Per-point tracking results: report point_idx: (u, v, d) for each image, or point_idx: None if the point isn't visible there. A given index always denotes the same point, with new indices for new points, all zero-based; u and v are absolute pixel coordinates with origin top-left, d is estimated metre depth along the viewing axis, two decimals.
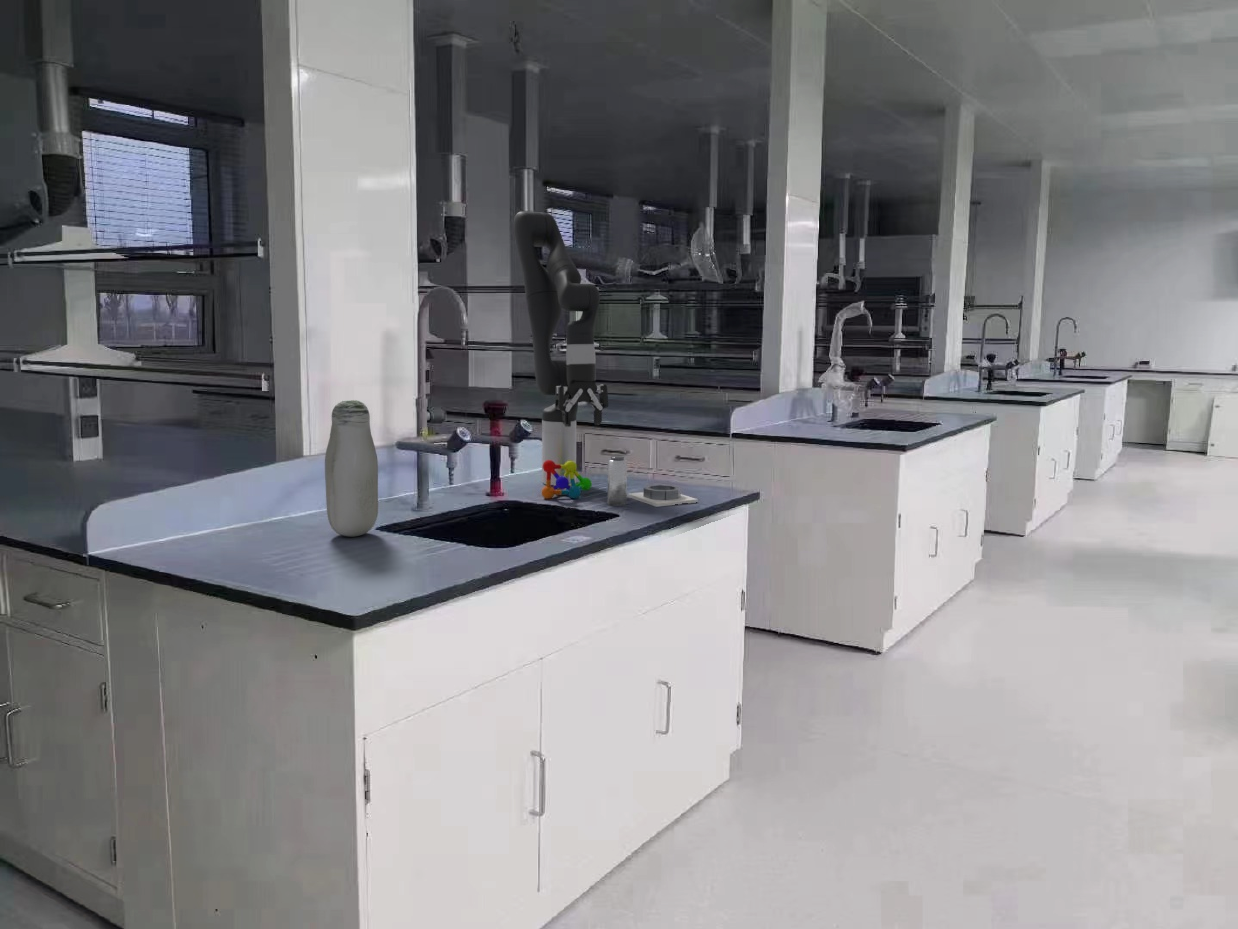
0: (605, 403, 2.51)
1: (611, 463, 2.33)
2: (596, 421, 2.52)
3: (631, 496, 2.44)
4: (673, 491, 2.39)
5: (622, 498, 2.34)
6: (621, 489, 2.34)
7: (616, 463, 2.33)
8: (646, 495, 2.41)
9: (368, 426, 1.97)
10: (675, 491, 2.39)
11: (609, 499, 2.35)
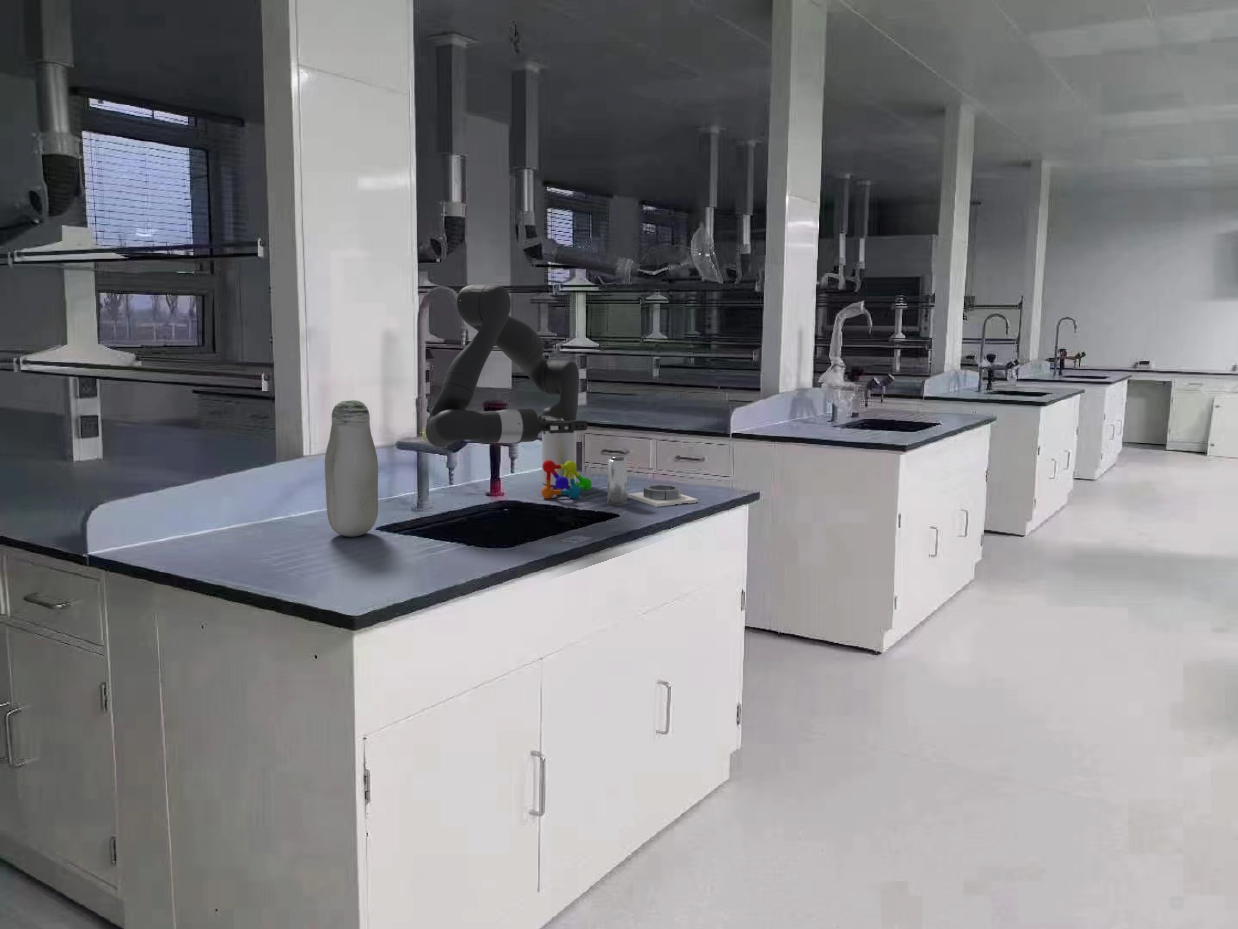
0: None
1: (611, 463, 2.33)
2: None
3: (631, 496, 2.44)
4: (673, 491, 2.39)
5: (622, 498, 2.34)
6: (621, 489, 2.34)
7: (616, 463, 2.33)
8: (646, 495, 2.41)
9: (368, 426, 1.97)
10: (675, 491, 2.39)
11: (609, 499, 2.35)
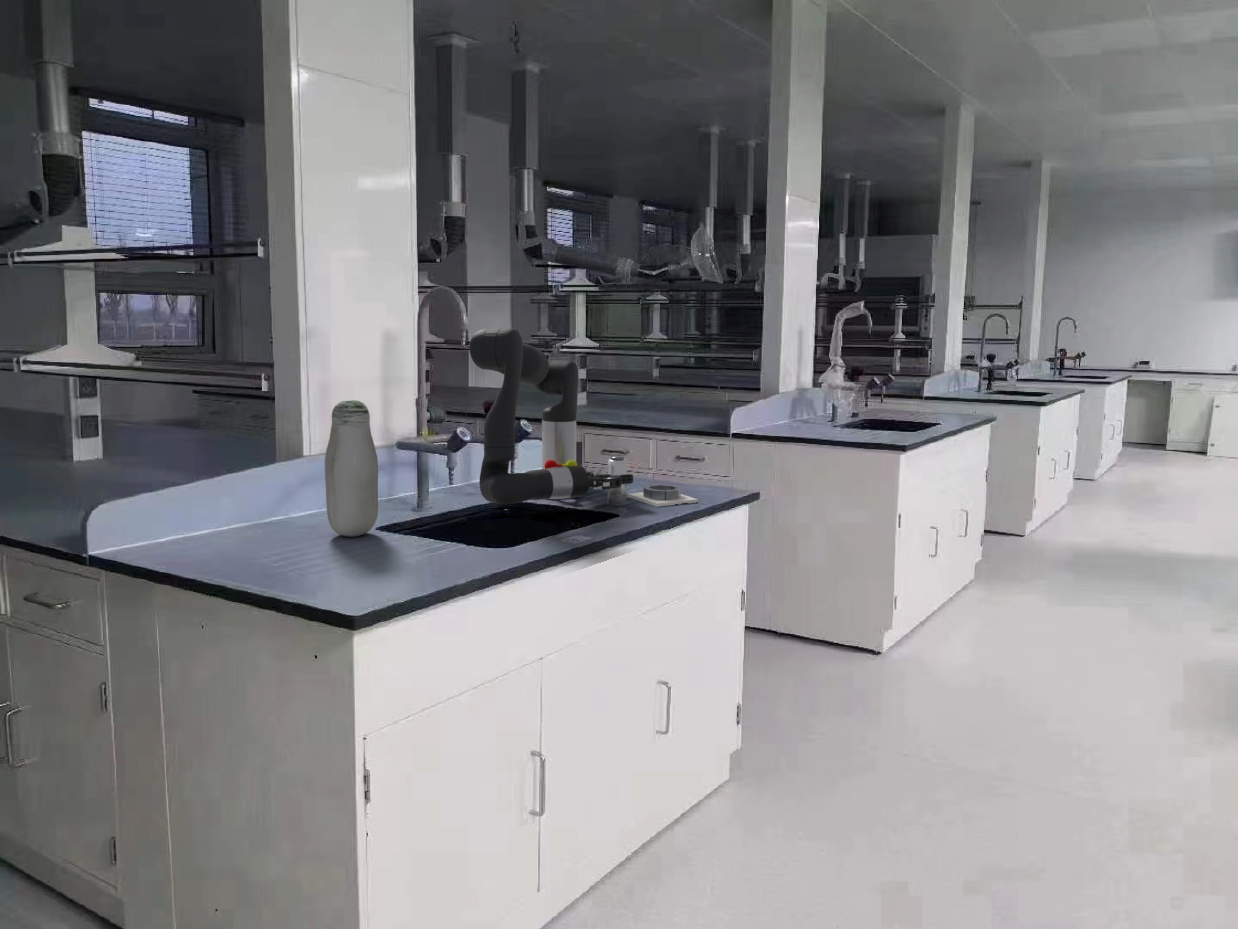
0: None
1: (611, 463, 2.33)
2: None
3: (631, 496, 2.44)
4: (673, 491, 2.39)
5: (622, 498, 2.34)
6: (621, 489, 2.34)
7: (616, 463, 2.33)
8: (646, 495, 2.41)
9: (368, 426, 1.97)
10: (675, 491, 2.39)
11: (609, 499, 2.35)
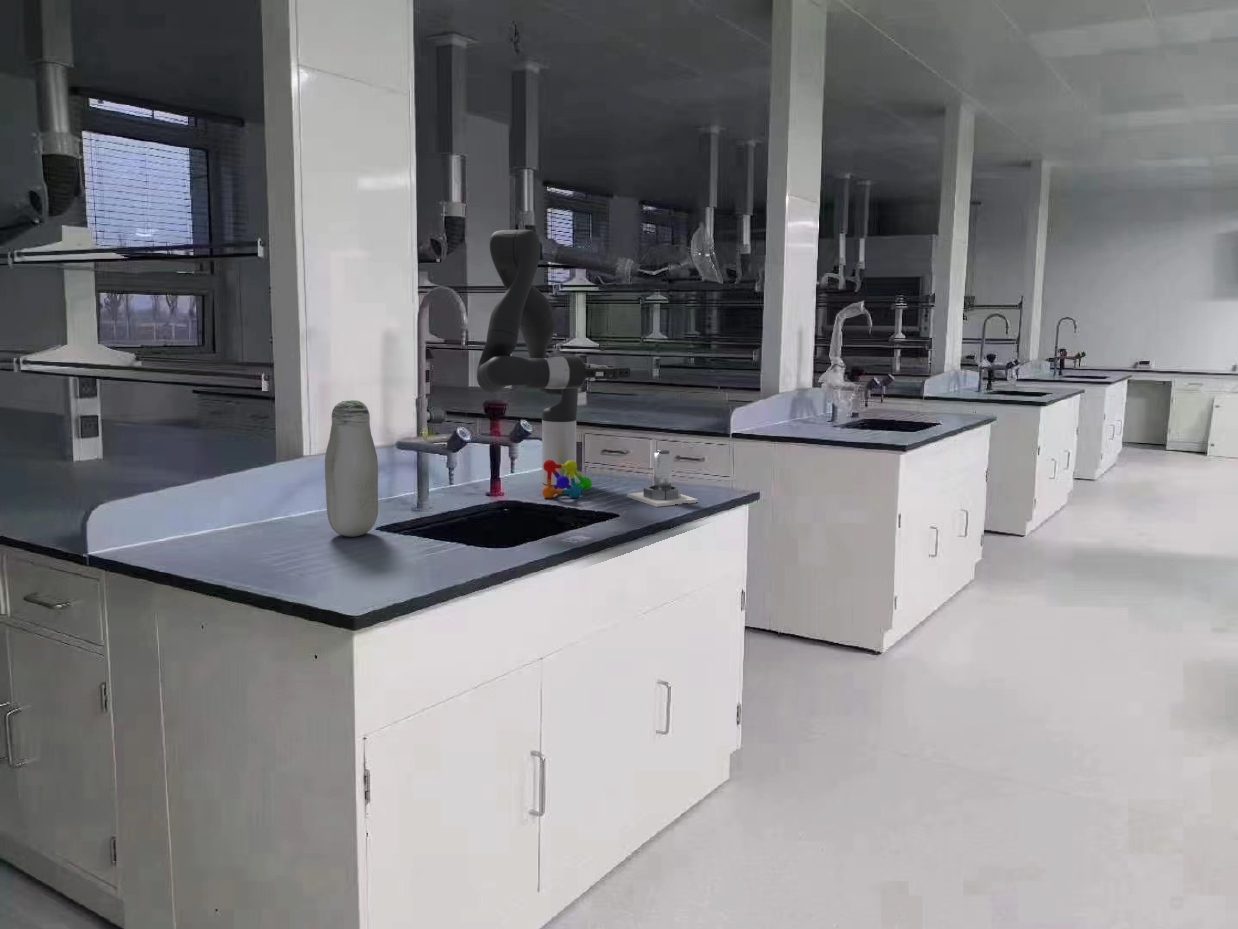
0: (613, 378, 2.29)
1: (657, 456, 2.39)
2: None
3: (631, 496, 2.44)
4: (673, 491, 2.39)
5: None
6: (666, 482, 2.40)
7: (662, 456, 2.39)
8: (646, 495, 2.41)
9: (368, 426, 1.97)
10: (675, 491, 2.39)
11: None
